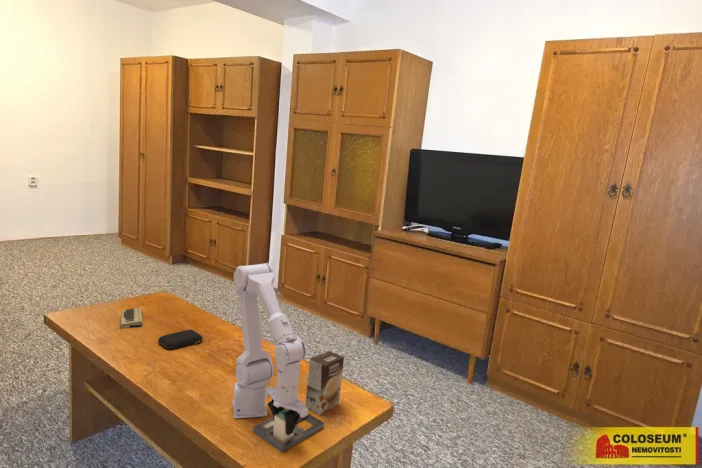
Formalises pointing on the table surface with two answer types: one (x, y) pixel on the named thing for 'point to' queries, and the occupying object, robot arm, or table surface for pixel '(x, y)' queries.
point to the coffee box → (324, 382)
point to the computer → (131, 318)
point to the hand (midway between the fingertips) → (284, 429)
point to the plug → (281, 427)
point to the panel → (267, 432)
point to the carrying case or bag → (180, 339)
